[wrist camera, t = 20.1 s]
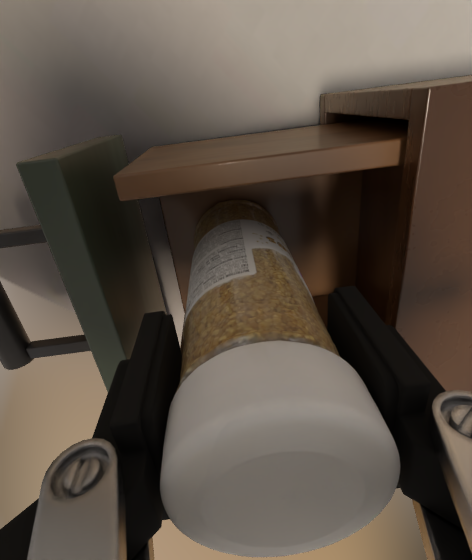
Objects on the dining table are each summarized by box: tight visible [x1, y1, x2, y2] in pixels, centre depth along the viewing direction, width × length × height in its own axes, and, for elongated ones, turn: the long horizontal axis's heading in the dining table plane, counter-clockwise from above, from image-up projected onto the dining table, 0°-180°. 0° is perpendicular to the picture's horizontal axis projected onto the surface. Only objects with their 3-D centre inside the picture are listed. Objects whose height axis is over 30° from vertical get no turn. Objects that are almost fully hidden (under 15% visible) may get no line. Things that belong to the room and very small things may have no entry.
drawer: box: [0, 118, 409, 392], centre depth 16 cm, size 19×11×8 cm, turn 96°
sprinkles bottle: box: [160, 200, 400, 557], centre depth 12 cm, size 5×5×13 cm
